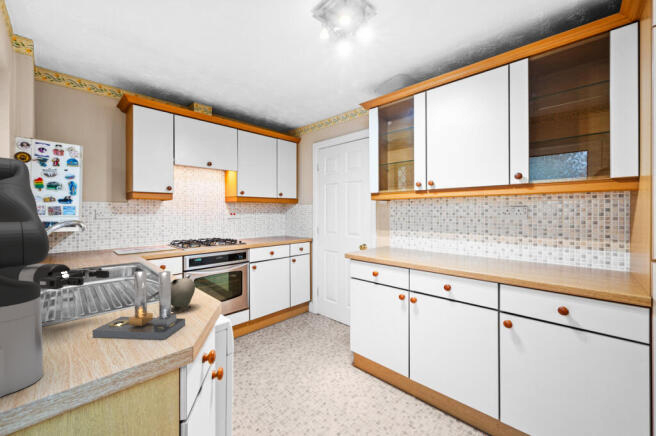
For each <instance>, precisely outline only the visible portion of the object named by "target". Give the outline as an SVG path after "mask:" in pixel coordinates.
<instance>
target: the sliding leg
mask: <svg viewBox="0 0 656 436" xmlns="http://www.w3.org/2000/svg"><path fill="white" fill-rule="evenodd" d="M147 286H148V285H147V270H138V271H134V272H133V295H134V297H133V298H134V315H132V316H130V317H131V318H129V325H134V326H143V325H144V324H146V323H148V322H150V321H151V320H153V318H154V317H153V316H154V313H153V312H152V313H151V312H148V305H147V304H148V300H147V298H148V295H147V294H148V293H147V292H148V291H147Z"/></svg>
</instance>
